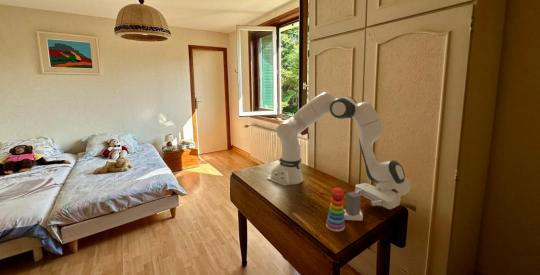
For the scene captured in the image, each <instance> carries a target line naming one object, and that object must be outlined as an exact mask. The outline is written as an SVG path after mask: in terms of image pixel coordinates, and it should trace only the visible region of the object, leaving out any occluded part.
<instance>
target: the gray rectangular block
mask: <svg viewBox="0 0 540 275" xmlns="http://www.w3.org/2000/svg"><path fill="white" fill-rule="evenodd" d="M361 196H362V195H359V194H357V193H356V192H355V190H354V191H350V192H347V193H346V194H345V197H346V198H345V209H346V212H347V213H349V214H350V215H352V216H355V215H358V214H360V210H361V198H362V197H361Z"/></svg>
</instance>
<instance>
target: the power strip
mask: <svg viewBox="0 0 540 275" xmlns="http://www.w3.org/2000/svg"><path fill="white" fill-rule="evenodd" d="M363 215H364V214H363V212H362V210H361V209H360V214H358V215H355V216H352V215H350V214H349V213H347V212H346V208H344V218H345V220H344V221H363V220H364V219H363V218H364V216H363Z"/></svg>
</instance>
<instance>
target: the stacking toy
mask: <svg viewBox="0 0 540 275" xmlns="http://www.w3.org/2000/svg"><path fill="white" fill-rule="evenodd" d="M344 197H345V191H344V189H342V188H341V187H335V188H333V189H332V190H331V199H330V203H329V208H328V209H329V211H328V212H327V219H326V223H325V227H326V228H327V229H328V230H330V231H332V232H341V231H344V230H345V229H346V225H345V221H346V220H345V218H344V209H345V208H344V207H345V206H344Z"/></svg>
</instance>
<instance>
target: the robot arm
mask: <svg viewBox="0 0 540 275" xmlns="http://www.w3.org/2000/svg"><path fill="white" fill-rule="evenodd" d="M328 113H330V114H331V115H332V117H334V118H335V119H338V120H339V119H340V120H344V119H351V118H352V119H353V121H354V122H355V124H356V125H357V128H358V130H359V139H358V144H359V148H360V151H361V155H362V158H363V162H364V164H365V173H366V177H367V179H369V180H370V181H371V182H373V183H376V185H375V186H374V185H372V184H370V183H368V182H367V183H366V182H362V183H359V184H355V188H354V192H356V193H357V194H359V195H361V196H362V197H364V198H366V199H368V200H370V205H371V206H372V207H374V206H380V207H383V208H384V209H386V210H387V209H388V210H392V209H394V208H397V207H399V206H400V204H401V197H402V196H405V195H406V194H408V193H409V191H410V190H411V187H412V184H411V182H410V180H409V179H408V178H407V177H406V176H405V169H404V168H403V166H402V164H401V163H400V162H398V161H397V160H394V159H393V160H386V161H382V162H378V161H377V159H376V156H375V153H374V148H373V145H374V144H375V142H376V141H377V140H378V139H379V138H380V137H381V136H382V134H383V132H384V125H383V122H382V120H381V118H380V116H379V114H378V112H377V111H376V109H375V108H374V107H373V105H372V104H371V102H368V101H362V102H358V103H357V101H356V100H355V98H353V97H351V96H340V97H335V96H334V94H332V93H331V92H329V91H324V92H322V93H320V94H318V95H316V96H315V97H313V98H312V99H310V100H309V101H308V102H307V103H305V104H304V105H302V106H301V108H299V109H298V110H297V111H296V113H294V114H293V115H292V116H290V117H288V118H287V119H284V120H282V121H281V122H280V123H279V124H278V125H277V127H276V135H277V137H278V138H279V139H280V144H281V149H282V150H281V153H282V154H281V156H282V157H280V159H278V162H279V163H278V164H277V165H275V166H274V167H272V169H271V172H270V174H268V176H267V180H269V181H271V182H273V183H277V184H279V185H281V186H289V185H298V184H301V183H302V182H303V181H304V178H303V174H302V158H301V144H300V143H299V138H298V135H299V134H301V133H302V132H304V130H307V129H308V128H309V127H310V126H311V125H313V124H314V123H315V122H318V120H320V119H321V118H322V117H324V116H325V115H326V114H328Z"/></svg>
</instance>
